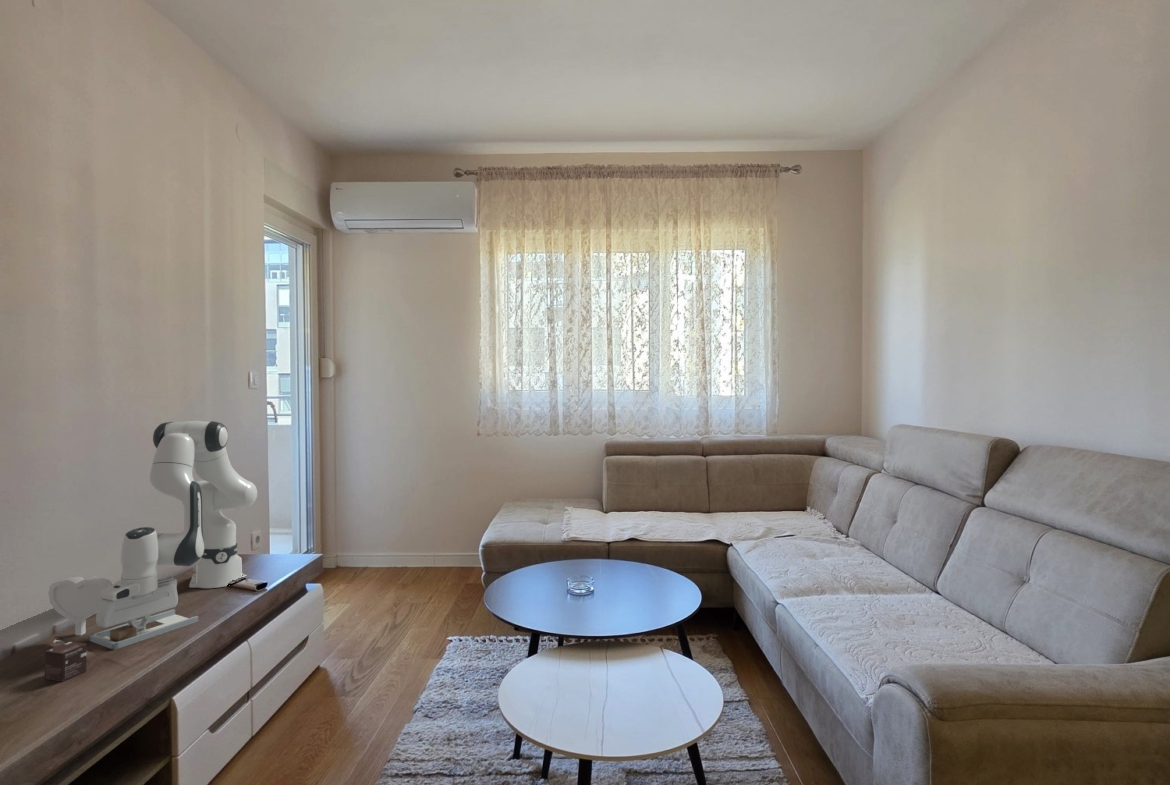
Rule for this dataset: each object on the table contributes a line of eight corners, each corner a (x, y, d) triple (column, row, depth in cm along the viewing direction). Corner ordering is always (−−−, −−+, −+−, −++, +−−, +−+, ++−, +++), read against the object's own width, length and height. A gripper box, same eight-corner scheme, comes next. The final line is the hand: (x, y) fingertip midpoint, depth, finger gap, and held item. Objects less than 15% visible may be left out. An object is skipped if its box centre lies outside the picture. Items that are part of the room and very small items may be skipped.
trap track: (113, 655, 165) (114, 644, 165) (88, 645, 171) (88, 635, 171) (198, 626, 186) (198, 616, 186) (173, 618, 192) (173, 609, 192)
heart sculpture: (45, 642, 172) (46, 580, 172) (60, 635, 177) (60, 575, 177) (101, 642, 173) (102, 581, 173) (114, 635, 178) (114, 575, 178)
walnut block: (118, 645, 168) (118, 633, 168) (109, 642, 170) (110, 630, 170) (136, 639, 172) (136, 627, 172) (127, 636, 174) (127, 624, 174)
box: (62, 682, 150) (62, 653, 150) (43, 679, 151) (43, 651, 151) (87, 671, 156) (87, 643, 156) (68, 668, 157) (68, 641, 157)
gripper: (170, 573, 185) (169, 618, 185) (93, 593, 167) (92, 642, 167) (183, 576, 182) (182, 621, 182) (105, 597, 164) (104, 647, 164)
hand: (138, 632), depth 174 cm, fingers closed
